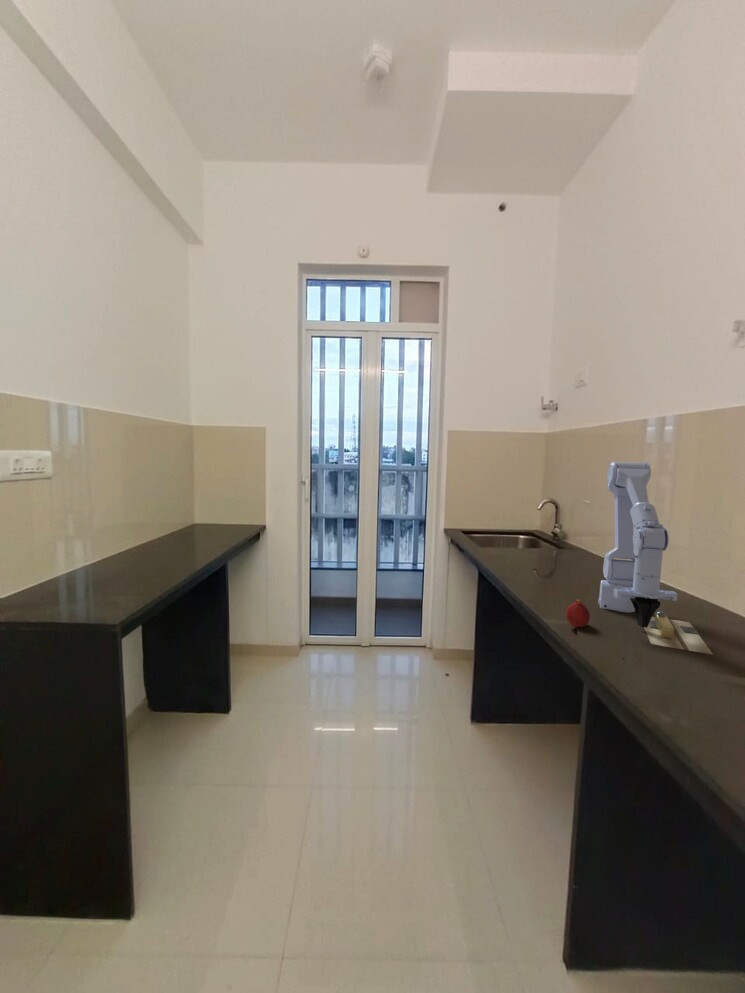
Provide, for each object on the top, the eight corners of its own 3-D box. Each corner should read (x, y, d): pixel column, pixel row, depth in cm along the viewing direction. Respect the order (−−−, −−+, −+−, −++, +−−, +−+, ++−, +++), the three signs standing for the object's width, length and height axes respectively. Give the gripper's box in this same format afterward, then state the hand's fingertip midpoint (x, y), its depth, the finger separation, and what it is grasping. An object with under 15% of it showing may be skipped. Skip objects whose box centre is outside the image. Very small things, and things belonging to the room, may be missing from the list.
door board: (650, 648, 104) (651, 642, 104) (638, 618, 123) (638, 613, 123) (712, 659, 99) (713, 653, 99) (689, 626, 118) (689, 621, 118)
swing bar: (653, 622, 116) (655, 610, 116) (664, 624, 115) (665, 611, 115) (661, 636, 107) (662, 623, 107) (672, 638, 106) (674, 625, 106)
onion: (569, 622, 119) (571, 594, 118) (592, 629, 115) (594, 599, 114) (561, 628, 115) (563, 599, 114) (583, 635, 111) (586, 605, 110)
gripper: (625, 577, 106) (620, 630, 108) (687, 579, 105) (682, 633, 107) (611, 569, 113) (607, 619, 115) (669, 572, 112) (664, 622, 114)
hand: (642, 625), depth 111 cm, fingers closed
